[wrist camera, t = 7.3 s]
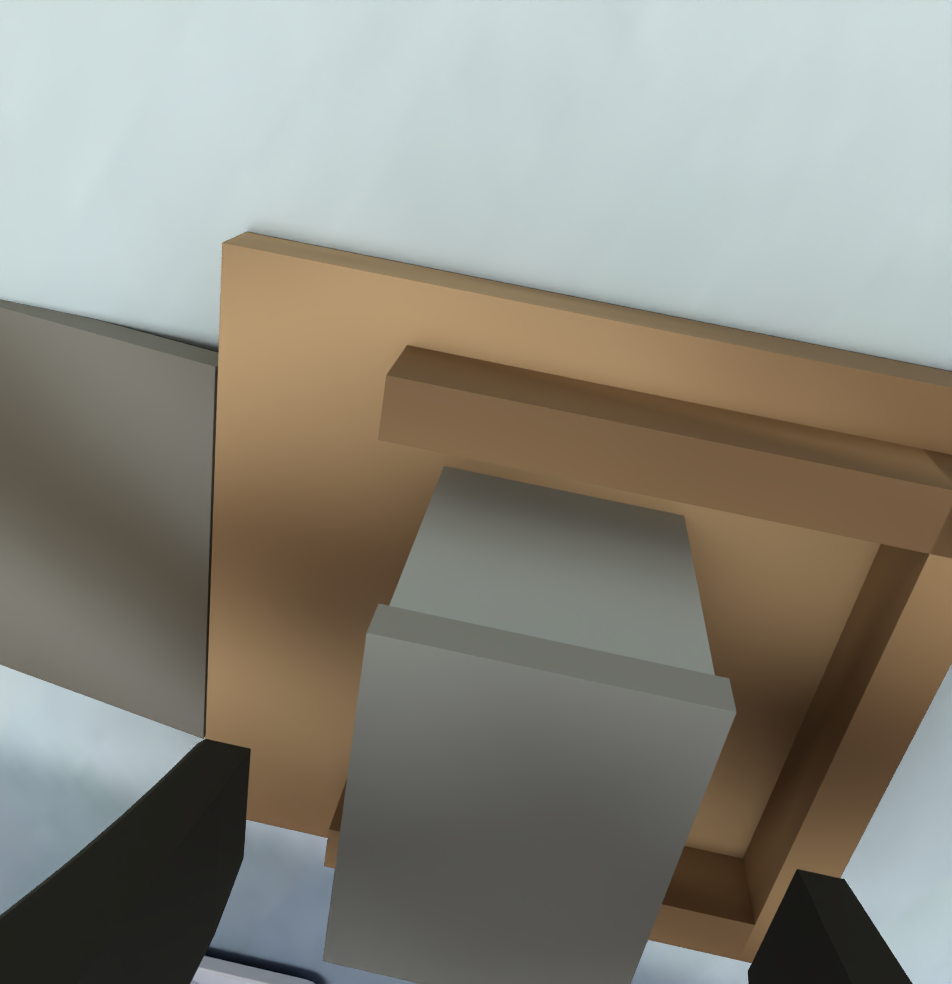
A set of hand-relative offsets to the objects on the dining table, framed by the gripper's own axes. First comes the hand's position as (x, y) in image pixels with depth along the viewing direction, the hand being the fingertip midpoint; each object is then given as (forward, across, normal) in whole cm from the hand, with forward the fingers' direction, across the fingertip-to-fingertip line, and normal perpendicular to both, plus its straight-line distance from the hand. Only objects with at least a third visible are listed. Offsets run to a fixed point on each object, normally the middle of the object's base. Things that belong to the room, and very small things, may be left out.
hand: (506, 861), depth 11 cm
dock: (+6, +3, 0) cm, 7 cm away
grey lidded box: (+5, 0, 0) cm, 5 cm away
